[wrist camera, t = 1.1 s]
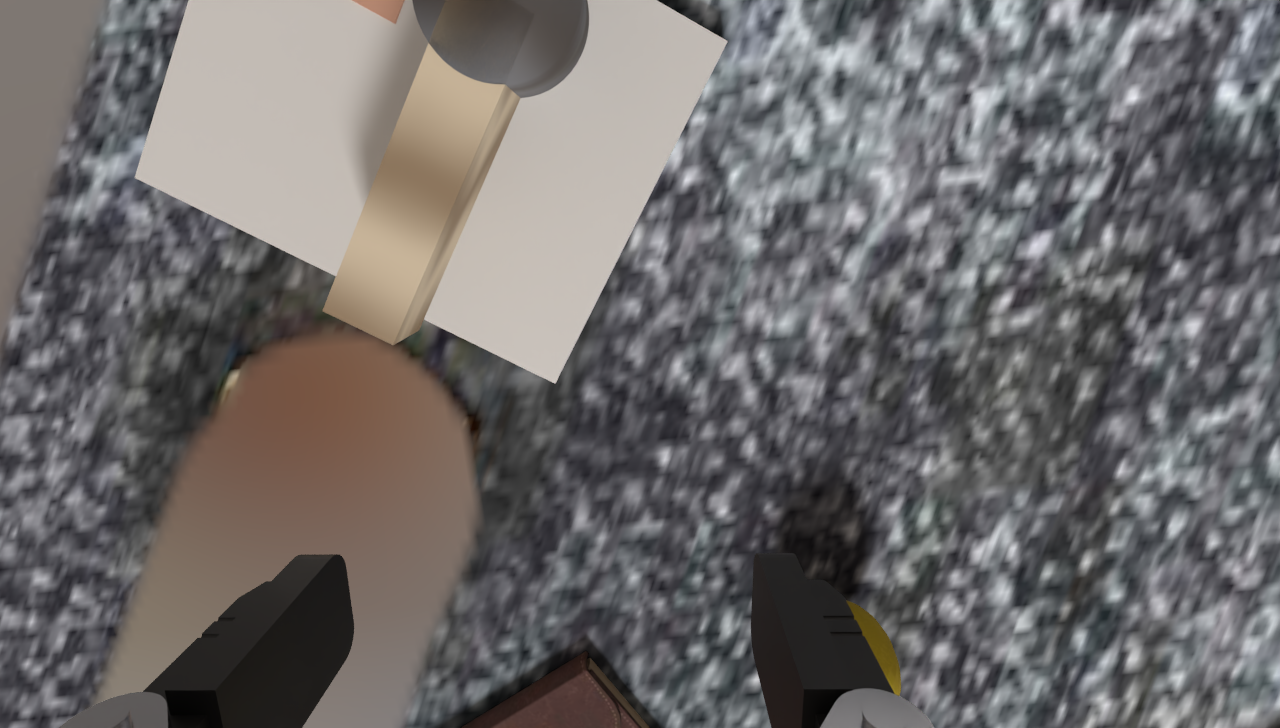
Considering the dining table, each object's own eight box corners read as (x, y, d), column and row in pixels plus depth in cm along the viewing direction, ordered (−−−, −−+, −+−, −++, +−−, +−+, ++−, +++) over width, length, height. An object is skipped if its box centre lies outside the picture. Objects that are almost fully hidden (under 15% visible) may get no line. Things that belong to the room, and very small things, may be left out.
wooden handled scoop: (474, -101, 24) (451, -143, 21) (614, -20, 25) (611, -50, 22) (323, 284, 27) (286, 293, 25) (449, 345, 28) (427, 361, 25)
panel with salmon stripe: (279, -207, 27) (209, -286, 23) (723, 49, 30) (737, 22, 25) (158, 178, 31) (79, 174, 27) (558, 375, 33) (546, 401, 29)
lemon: (771, 574, 36) (806, 674, 29) (866, 567, 36) (928, 666, 29) (774, 655, 38) (808, 771, 30) (866, 648, 38) (924, 763, 30)
